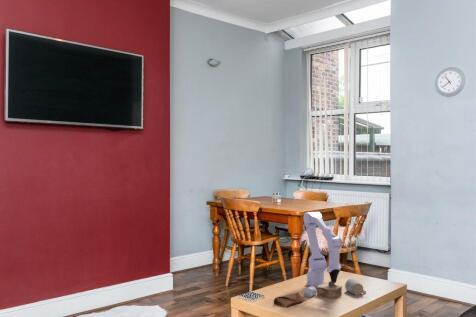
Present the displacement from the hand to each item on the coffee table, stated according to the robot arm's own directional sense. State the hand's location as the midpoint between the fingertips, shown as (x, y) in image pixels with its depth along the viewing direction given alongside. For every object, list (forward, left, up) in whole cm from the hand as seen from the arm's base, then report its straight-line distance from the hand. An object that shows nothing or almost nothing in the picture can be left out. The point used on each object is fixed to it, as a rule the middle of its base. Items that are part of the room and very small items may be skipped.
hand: (333, 282), depth 243 cm
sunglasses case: (-11, -29, -7) cm, 31 cm away
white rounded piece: (-9, -13, -6) cm, 17 cm away
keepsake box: (0, -5, -6) cm, 8 cm away
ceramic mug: (+10, +9, -6) cm, 15 cm away
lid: (0, -5, -2) cm, 5 cm away
